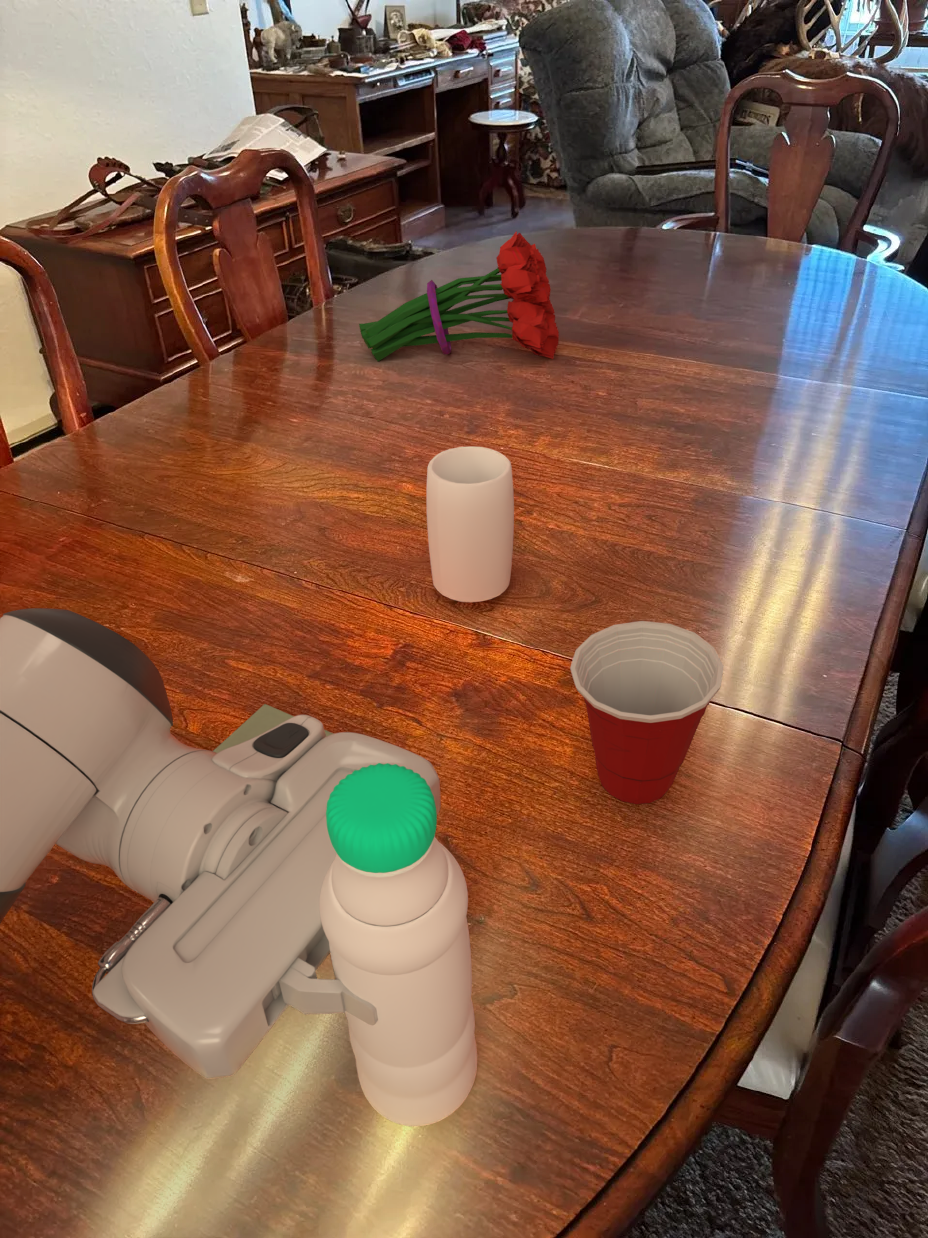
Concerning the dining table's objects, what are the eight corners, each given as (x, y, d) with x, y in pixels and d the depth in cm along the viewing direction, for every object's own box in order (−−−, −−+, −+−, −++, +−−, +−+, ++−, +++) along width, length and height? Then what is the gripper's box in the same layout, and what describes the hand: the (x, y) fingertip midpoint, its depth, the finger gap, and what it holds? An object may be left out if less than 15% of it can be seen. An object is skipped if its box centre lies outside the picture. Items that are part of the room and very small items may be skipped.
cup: (530, 589, 94) (533, 464, 85) (470, 625, 89) (467, 497, 81) (473, 556, 99) (470, 435, 90) (413, 588, 94) (405, 465, 86)
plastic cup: (563, 725, 78) (571, 613, 71) (693, 732, 77) (714, 619, 70) (562, 826, 70) (570, 710, 62) (708, 835, 69) (733, 718, 61)
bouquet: (379, 374, 154) (556, 331, 150) (374, 417, 141) (568, 371, 137) (342, 256, 142) (533, 206, 138) (333, 291, 129) (543, 236, 125)
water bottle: (359, 1137, 52) (289, 875, 36) (359, 1017, 57) (300, 742, 42) (483, 1125, 52) (469, 859, 36) (472, 1006, 58) (455, 729, 42)
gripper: (53, 951, 43) (282, 1102, 38) (319, 696, 57) (516, 778, 52) (88, 1022, 47) (301, 1168, 42) (330, 766, 61) (514, 850, 55)
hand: (422, 949), depth 47 cm, fingers closed on water bottle, 5 cm apart
